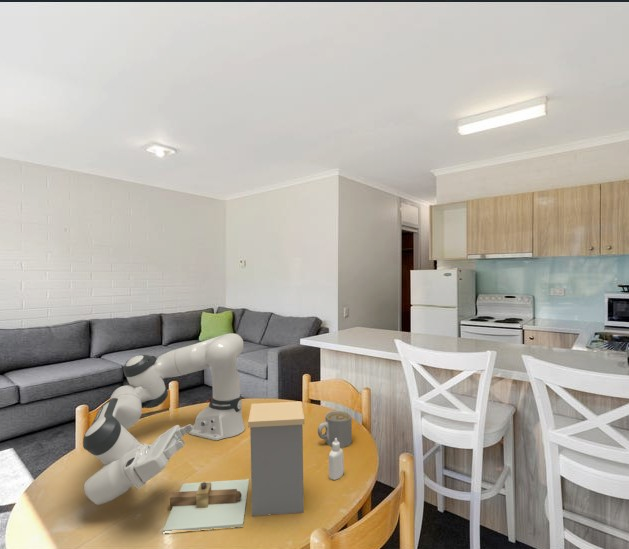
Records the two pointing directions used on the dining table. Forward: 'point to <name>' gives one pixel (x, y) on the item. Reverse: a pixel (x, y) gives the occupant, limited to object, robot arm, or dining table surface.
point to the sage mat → (210, 509)
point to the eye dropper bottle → (336, 461)
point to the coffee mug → (337, 428)
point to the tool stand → (276, 458)
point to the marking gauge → (204, 497)
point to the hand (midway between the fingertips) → (187, 434)
